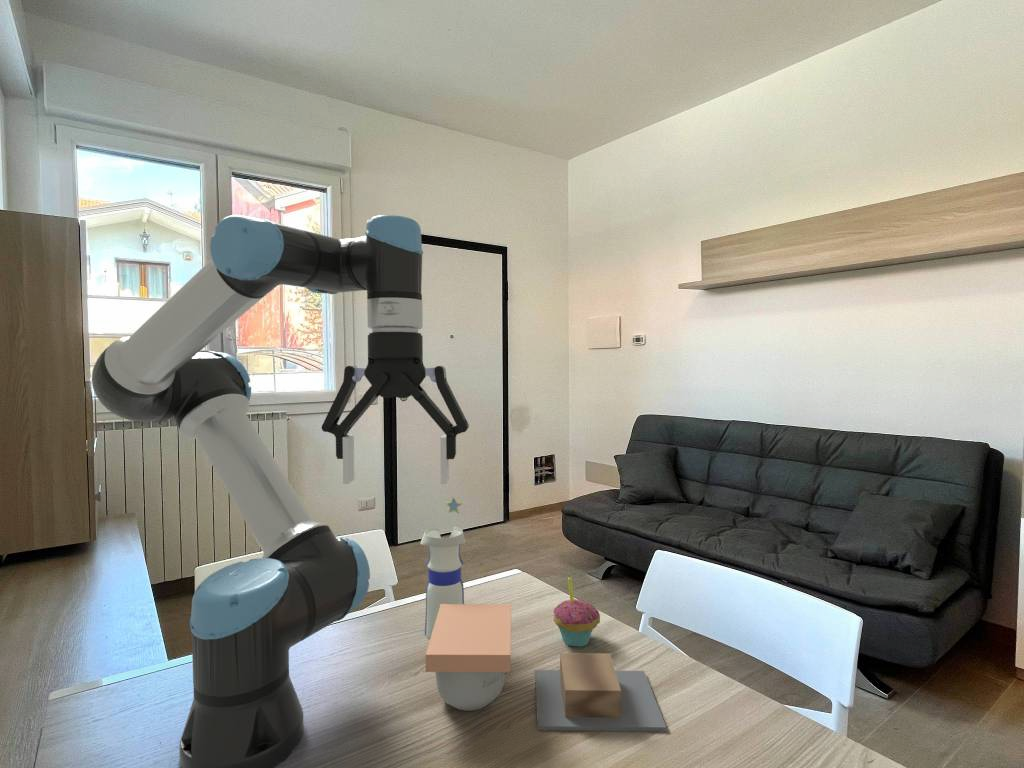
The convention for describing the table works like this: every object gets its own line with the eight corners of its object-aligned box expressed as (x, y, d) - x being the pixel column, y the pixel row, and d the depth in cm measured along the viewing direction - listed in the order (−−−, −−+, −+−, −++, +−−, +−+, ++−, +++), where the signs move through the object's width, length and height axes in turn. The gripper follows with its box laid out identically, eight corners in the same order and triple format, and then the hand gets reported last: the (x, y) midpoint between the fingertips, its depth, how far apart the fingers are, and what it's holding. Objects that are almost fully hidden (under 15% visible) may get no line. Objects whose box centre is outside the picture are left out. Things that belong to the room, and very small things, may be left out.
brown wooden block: (565, 717, 80) (565, 690, 80) (560, 677, 90) (560, 653, 90) (620, 717, 80) (621, 690, 80) (609, 677, 90) (609, 653, 90)
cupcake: (543, 639, 103) (544, 575, 103) (574, 624, 109) (574, 564, 108) (578, 657, 97) (579, 590, 96) (609, 641, 103) (609, 577, 102)
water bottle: (422, 621, 110) (421, 497, 109) (465, 619, 111) (465, 496, 110) (419, 643, 102) (418, 508, 101) (466, 640, 103) (466, 507, 101)
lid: (425, 671, 79) (425, 654, 78) (440, 618, 95) (440, 603, 94) (510, 672, 79) (510, 654, 78) (511, 618, 94) (511, 604, 94)
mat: (537, 730, 78) (537, 726, 78) (534, 673, 92) (534, 670, 92) (666, 731, 78) (666, 727, 78) (643, 674, 92) (643, 670, 92)
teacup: (495, 725, 79) (495, 671, 79) (423, 716, 81) (422, 662, 81) (514, 671, 93) (514, 624, 92) (452, 664, 95) (452, 618, 94)
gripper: (295, 329, 74) (298, 487, 75) (482, 330, 74) (483, 488, 75) (316, 332, 81) (318, 475, 83) (486, 332, 81) (486, 476, 82)
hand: (396, 482), depth 79 cm, fingers open, 13 cm apart
